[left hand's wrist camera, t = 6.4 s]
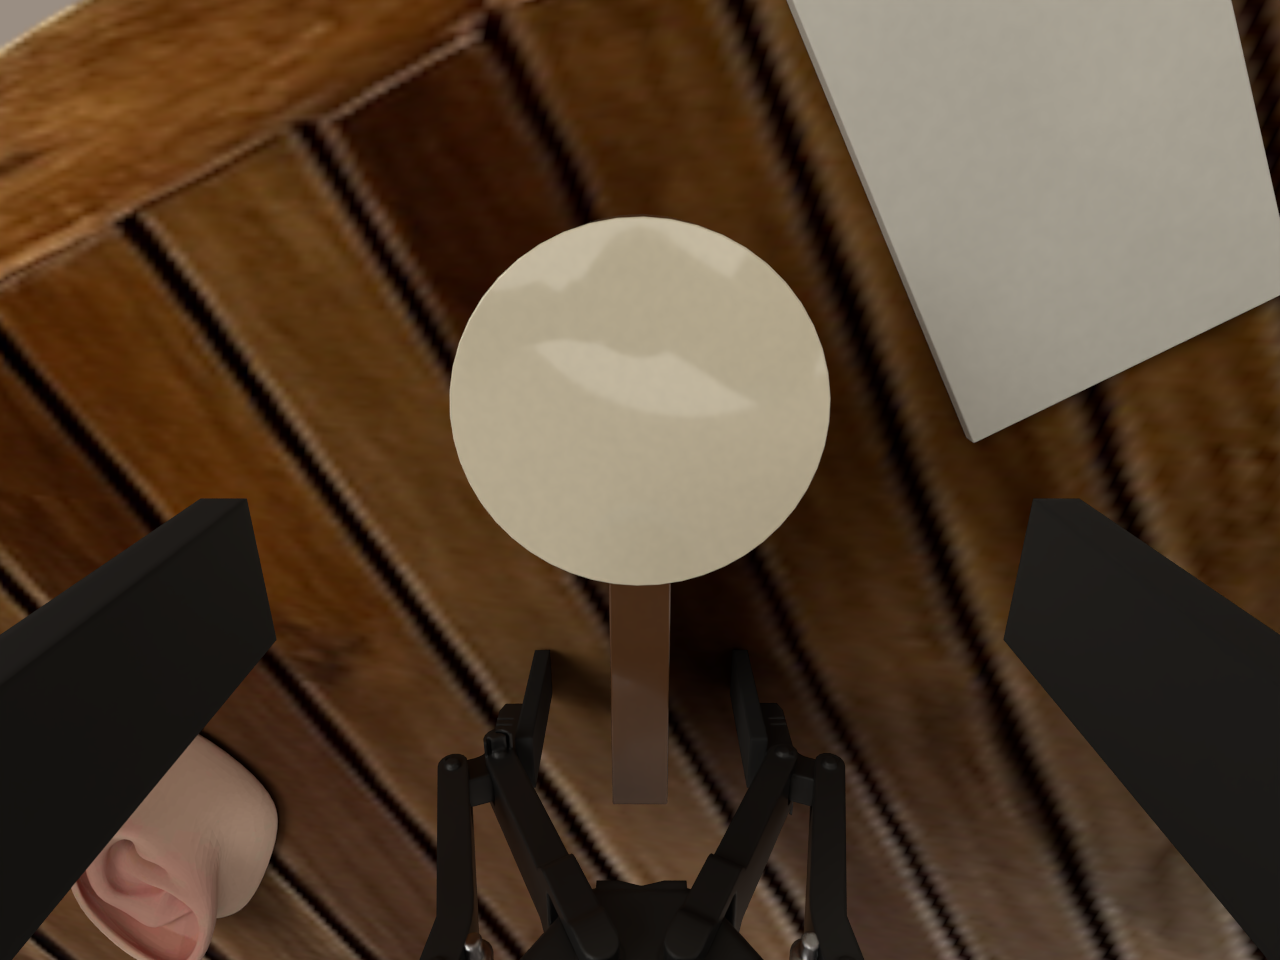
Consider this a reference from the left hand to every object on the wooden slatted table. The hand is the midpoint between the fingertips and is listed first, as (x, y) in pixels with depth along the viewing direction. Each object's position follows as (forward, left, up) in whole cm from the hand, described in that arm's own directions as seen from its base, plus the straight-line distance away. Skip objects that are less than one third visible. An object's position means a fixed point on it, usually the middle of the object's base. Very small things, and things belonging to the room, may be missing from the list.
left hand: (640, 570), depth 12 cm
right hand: (-15, +8, -20) cm, 27 cm away
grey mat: (-1, -18, -21) cm, 27 cm away
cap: (0, 0, -13) cm, 13 cm away
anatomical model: (-11, +36, -21) cm, 43 cm away
